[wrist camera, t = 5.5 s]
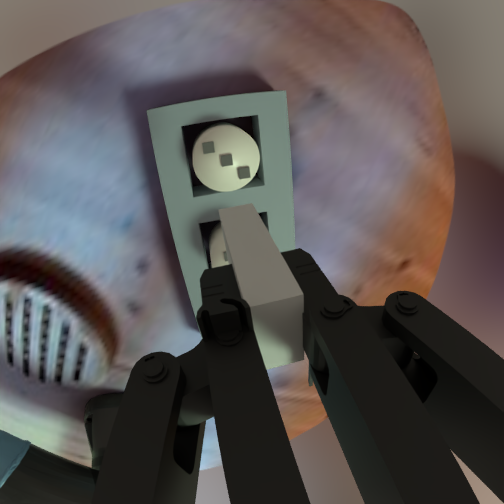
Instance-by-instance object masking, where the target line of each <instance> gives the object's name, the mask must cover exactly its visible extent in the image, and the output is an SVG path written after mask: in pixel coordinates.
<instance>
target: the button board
mask: <svg viewBox="0 0 504 504" xmlns="http://www.w3.org/2000/svg"><path fill="white" fill-rule="evenodd" d="M147 116H148V122H149V127H150V133H151V138H152V144H153V149H154V154H155V159H156V164H157V169H158V173H159V178H160V183H161V187H162V192H163V196H164V201H165V205H166V209H167V214H168V218H169V222H170V226H171V230H172V234H173V238H174V242H175V246H176V250H177V254H178V258H179V261H180V265H181V269H182V272H183V276H184V280H185V283H186V287H187V290H188V294H189V297H190V301H191V304H192V307H193V311H194V314H195V317H196V315H197V311H198V310H199V308H200V307H201V306H202V297H201V288H200V277H201V275H202V274H203V272H204V270H205V269H210V268H212V264H208V260H207V255H206V251H205V246H204V241H203V236H202V231H201V226H200V223H204V222H210V221H215V220H220V216H219V209H224V208H229V207H234V206H240V205H245V204H250V203H252V204H253V206H254V207H255V209H256V211H257V213H261V214H262V221H263V223H264V225H265V226H266V228H267V230H268V232H269V233H270V235H271V237H272V239H273V240H274V242H275V244H276V246H277V248H278V249H279V251H280V252H285V251H290V250H294V249H295V229H294V205H293V185H292V167H291V151H290V137H289V123H288V111H287V99H286V91H264V92H252V93H243V94H234V95H226V96H219V97H212V98H205V99H199V100H193V101H187V102H182V103H177V104H171V105H167V106H162V107H157V108H153V109H150V110H147ZM243 116H252V125H253V134H254V141H255V143H256V145H257V147H258V150H259V154H260V162H259V167H258V170H257V173H258V176H255V177H253V179H252V180H251V181H250V182H249V183H248V184H246V185H245V186H243V187H242V188H240V189H237V190H234V191H228V192H222V191H216V190H213V189H211V188H209V187H207V186H206V185H201V186H195V187H193V184H192V179H191V173H190V167H189V162H188V156H187V150H186V144H185V138H184V132H183V126H185V125H191V124H196V123H202V122H208V121H214V120H221V119H228V118H235V117H243ZM196 321H197V320H196ZM197 324H198V323H197ZM198 327H199V326H198ZM199 330H200V329H199ZM200 333H201V332H200ZM201 337H202V335H201ZM202 339H203V338H202Z"/></svg>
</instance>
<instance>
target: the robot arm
mask: <svg viewBox="0 0 504 504" xmlns="http://www.w3.org/2000/svg"><path fill="white" fill-rule="evenodd" d="M219 216H220V221H221V226H222V232H223V237H224V242H225V248H226V253H227V258H228V263H229V265H224V266H219V267H215V268H210V269H205V270H204V272H203V274H202V275H201V277H200V288H201V297H202V306H201V307H200V308H199V310H198V311H197V315H196V320H197V323H198V326H199V329H200V332H201V335H202V338H203V339H202V340H201V342H200V343H199V344H198V345H197V346H196V347H195V348H194V349H192V350H190V351H188V352H187V353H184V354H182V355H180V356H178V357H175V356H173V355H172V354H170V353H166V352H154V353H150V354H148V355H146V356H143V357H142V358H141V359H140V360H139V361H137V362H136V364H135V365H134V367H133V369H132V371H131V374H130V377H129V379H128V382H127V385H126V388H125V391H124V394H105V395H101V396H97V397H95V398H93V399H91V400H90V401H89V402H88V403H87V405H86V408H85V415H84V424H85V428H86V433H87V437H88V441H89V446H90V450H91V453H92V468H90V467H87V466H84V465H81V464H79V463H76V462H73V461H71V460H68V459H65V458H63V457H60V456H58V455H56V454H53V453H51V452H48V451H46V450H44V449H42V448H40V447H37V446H35V445H33V444H31V442H29V441H28V440H25V441H24V440H22V439H20V438H18V437H16V436H13V435H11V434H9V433H7V432H5V431H3V430H0V504H195V499H196V491H197V484H198V476H199V468H200V461H201V453H202V446H203V438H204V431H205V424H206V420H208V419H210V418H212V417H214V418H215V424H216V430H217V436H218V442H219V447H220V453H221V458H222V464H223V469H224V474H225V479H226V484H227V489H228V494H229V498H230V503H231V504H310V501H309V498H308V495H307V492H306V489H305V487H304V484H303V481H302V478H301V475H300V472H299V469H298V466H297V463H296V460H295V457H294V454H293V451H292V448H291V446H290V442H289V439H288V436H287V433H286V430H285V427H284V424H283V420H282V417H281V414H280V411H279V408H278V405H277V402H276V399H275V396H274V392H273V389H272V386H271V383H270V380H269V377H268V374H267V369H271V368H275V367H279V366H282V365H286V364H290V363H294V362H297V361H301V360H304V350H305V353H306V355H307V357H308V359H309V377H308V381H309V386H313V382H314V384H315V387H316V389H317V391H318V394H319V396H320V398H321V401H322V403H323V405H324V408H325V410H326V413H327V415H328V417H329V420H330V422H331V424H332V427H333V429H334V431H335V434H336V436H337V438H338V441H339V443H340V446H341V448H342V450H343V453H344V455H345V457H346V460H347V462H348V465H349V467H350V469H351V472H352V474H353V477H354V479H355V481H356V484H357V486H358V489H359V491H360V493H361V496H362V498H363V500H364V502H365V504H480V503H479V501H478V500H477V497H476V495H475V494H474V492H473V490H472V488H471V486H470V484H469V482H468V480H467V478H466V477H465V475H464V473H463V471H462V469H461V468H460V466H459V464H458V462H457V461H456V459H455V457H454V455H453V453H452V452H451V450H452V451H453V452H454V453H455V454H456V455H457V456H458V457H459V458H460V459H461V460H462V461H463V462H464V463H465V464H466V465H467V466H468V468H469V469H471V471H472V472H474V474H475V475H476V476H477V477H478V478H479V479H480V480H481V481H482V482H483V483H484V484H485V485H486V486H487V487H488V488H489V489H490V490H492V492H493V493H494V494H495V495H496V496H497V497H498V498H499V499H500V500H501V501H502V502H503V503H504V359H502V358H501V357H500V356H499V355H497V354H496V353H495V352H494V351H493V350H491V349H490V348H489V347H488V346H486V345H485V344H484V343H482V342H481V341H480V340H479V339H477V338H476V337H475V336H474V335H472V334H471V333H470V332H469V331H467V330H466V329H465V328H463V327H462V326H461V325H459V324H458V323H457V322H455V321H454V320H453V319H451V318H450V317H449V316H447V315H446V314H445V313H443V312H442V311H441V310H439V309H438V308H437V307H435V306H434V305H432V304H431V303H430V302H428V301H427V300H426V299H424V298H423V297H421V296H420V295H418V294H416V293H414V292H409V291H397V292H395V293H392V294H390V295H389V296H388V297H387V298H386V301H385V305H384V306H357V305H356V303H355V302H354V301H352V300H351V299H350V298H348V297H346V296H343V295H338V293H337V292H336V290H335V289H334V287H333V286H332V285H331V283H330V282H329V280H328V279H327V277H326V276H325V275H324V273H323V272H322V271H321V269H320V267H319V266H318V265H317V264H316V262H315V260H314V259H313V258H312V256H311V255H310V254H309V253H307V252H305V251H304V250H302V249H300V248H299V249H294V250H290V251H285V252H280V251H279V249H278V248H277V246H276V244H275V242H274V240H273V239H272V237H271V235H270V233H269V232H268V230H267V228H266V226H265V225H264V223H263V221H262V219H261V218H260V216H259V214H258V213H257V211H256V209H255V207H254V206H253V204H252V203H250V204H245V205H240V206H234V207H229V208H224V209H219ZM414 352H415V353H414ZM416 353H417V354H418V355H417V354H416ZM450 449H451V450H450Z"/></svg>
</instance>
